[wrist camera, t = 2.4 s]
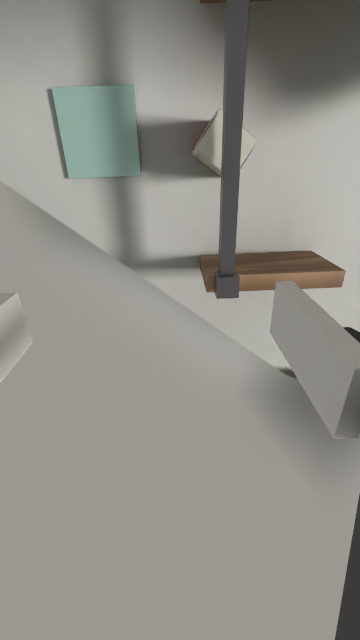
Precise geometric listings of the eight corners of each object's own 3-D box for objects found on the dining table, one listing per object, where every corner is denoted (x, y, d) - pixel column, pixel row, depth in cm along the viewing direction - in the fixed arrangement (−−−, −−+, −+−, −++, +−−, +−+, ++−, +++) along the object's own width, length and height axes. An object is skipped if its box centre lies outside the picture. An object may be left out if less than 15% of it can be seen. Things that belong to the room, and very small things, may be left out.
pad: (53, 88, 32) (51, 87, 32) (133, 85, 32) (132, 84, 32) (70, 178, 36) (68, 178, 36) (141, 175, 36) (140, 175, 36)
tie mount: (200, -26, 28) (211, -106, 20) (361, -32, 28) (438, -114, 20) (200, 268, 42) (206, 292, 34) (308, 264, 42) (341, 287, 34)
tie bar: (222, -97, 20) (228, -129, 18) (256, -99, 20) (266, -130, 18) (213, 290, 34) (216, 298, 32) (234, 289, 34) (238, 297, 32)
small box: (243, 146, 35) (260, 140, 28) (222, 178, 37) (233, 180, 30) (210, 118, 34) (220, 104, 27) (189, 153, 36) (193, 149, 29)
